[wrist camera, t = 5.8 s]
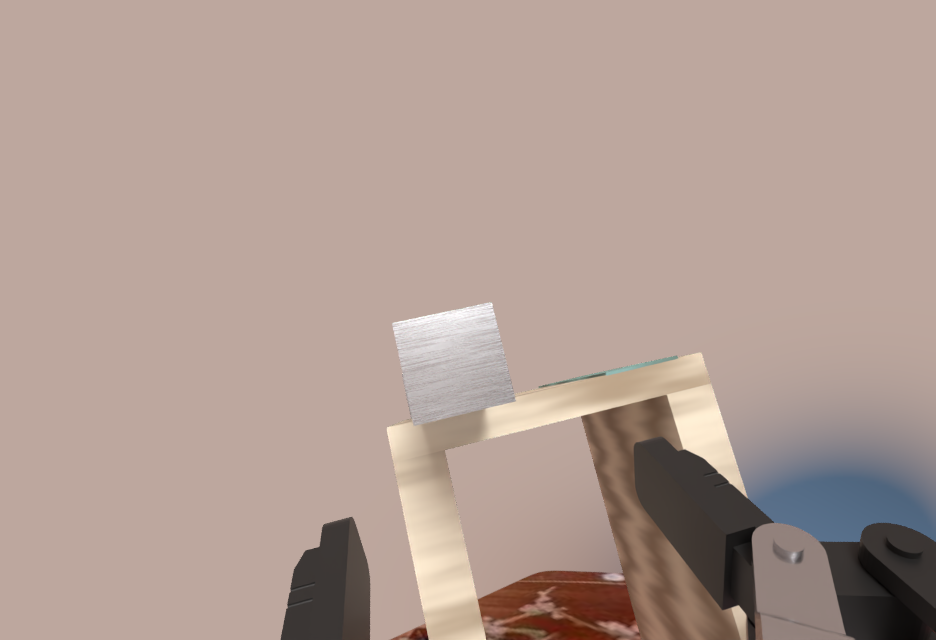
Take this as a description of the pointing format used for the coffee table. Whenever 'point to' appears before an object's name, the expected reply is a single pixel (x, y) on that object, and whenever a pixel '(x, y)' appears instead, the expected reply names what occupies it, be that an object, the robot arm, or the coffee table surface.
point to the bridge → (612, 447)
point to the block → (453, 363)
